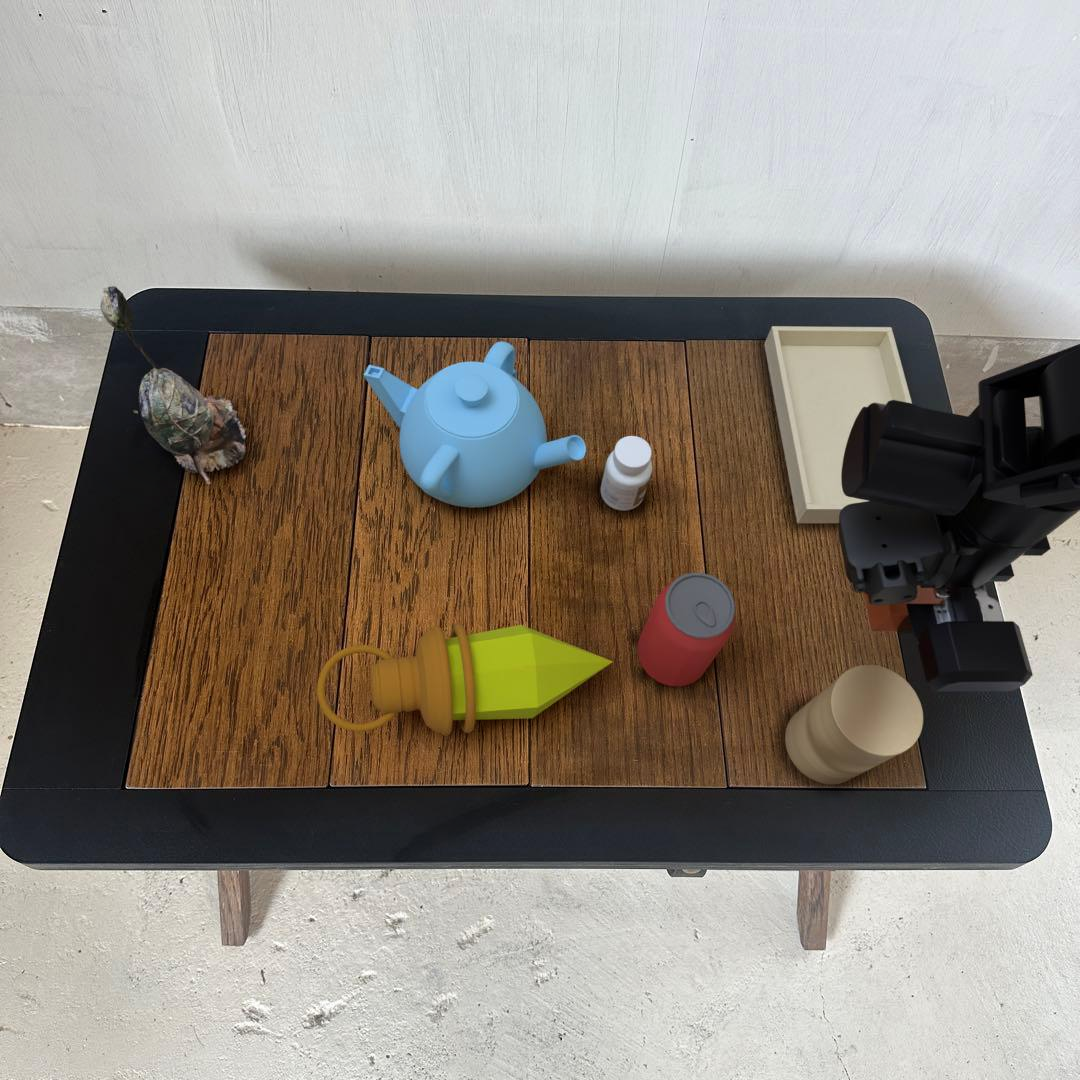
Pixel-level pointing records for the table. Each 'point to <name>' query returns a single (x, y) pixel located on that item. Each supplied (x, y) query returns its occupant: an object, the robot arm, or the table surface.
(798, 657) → the table surface
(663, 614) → the beer can
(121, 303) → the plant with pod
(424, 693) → the plumb bob
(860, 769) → the pedestal
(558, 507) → the table surface
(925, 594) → the clay block
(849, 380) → the beige tray
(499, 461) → the teapot
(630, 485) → the pill bottle
